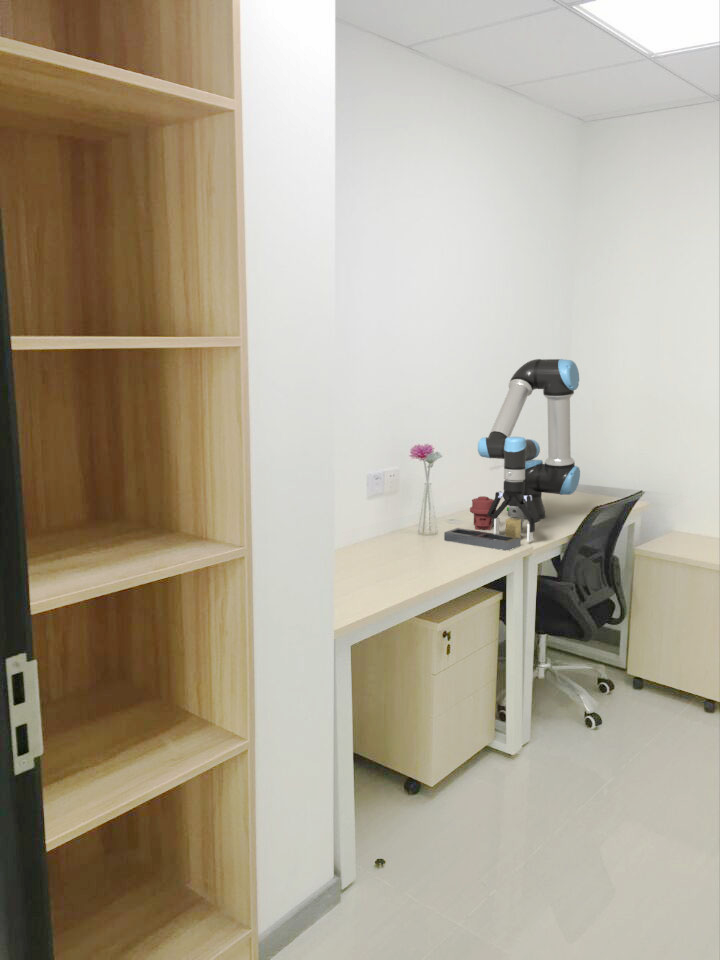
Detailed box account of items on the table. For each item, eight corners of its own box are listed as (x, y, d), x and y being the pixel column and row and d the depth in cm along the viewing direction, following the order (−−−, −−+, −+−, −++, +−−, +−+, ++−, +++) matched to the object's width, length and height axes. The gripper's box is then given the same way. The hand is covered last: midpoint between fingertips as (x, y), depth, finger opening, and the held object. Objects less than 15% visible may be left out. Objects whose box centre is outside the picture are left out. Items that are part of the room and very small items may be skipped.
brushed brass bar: (510, 539, 306) (511, 517, 305) (520, 540, 303) (521, 518, 302) (505, 541, 303) (505, 519, 302) (515, 542, 300) (515, 520, 299)
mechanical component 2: (500, 530, 321) (477, 532, 317) (487, 525, 330) (465, 527, 326) (501, 498, 319) (478, 500, 315) (488, 494, 328) (465, 496, 324)
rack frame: (457, 535, 311) (457, 527, 311) (520, 545, 295) (520, 537, 295) (444, 540, 304) (444, 532, 304) (507, 550, 288) (508, 542, 288)
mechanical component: (533, 534, 313) (534, 508, 312) (506, 533, 315) (506, 507, 314) (533, 532, 316) (534, 506, 314) (506, 531, 318) (507, 505, 316)
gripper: (478, 478, 304) (477, 535, 308) (541, 485, 289) (539, 545, 292) (489, 475, 310) (488, 532, 313) (550, 482, 295) (548, 541, 298)
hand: (512, 538), depth 303 cm, fingers open, 13 cm apart
